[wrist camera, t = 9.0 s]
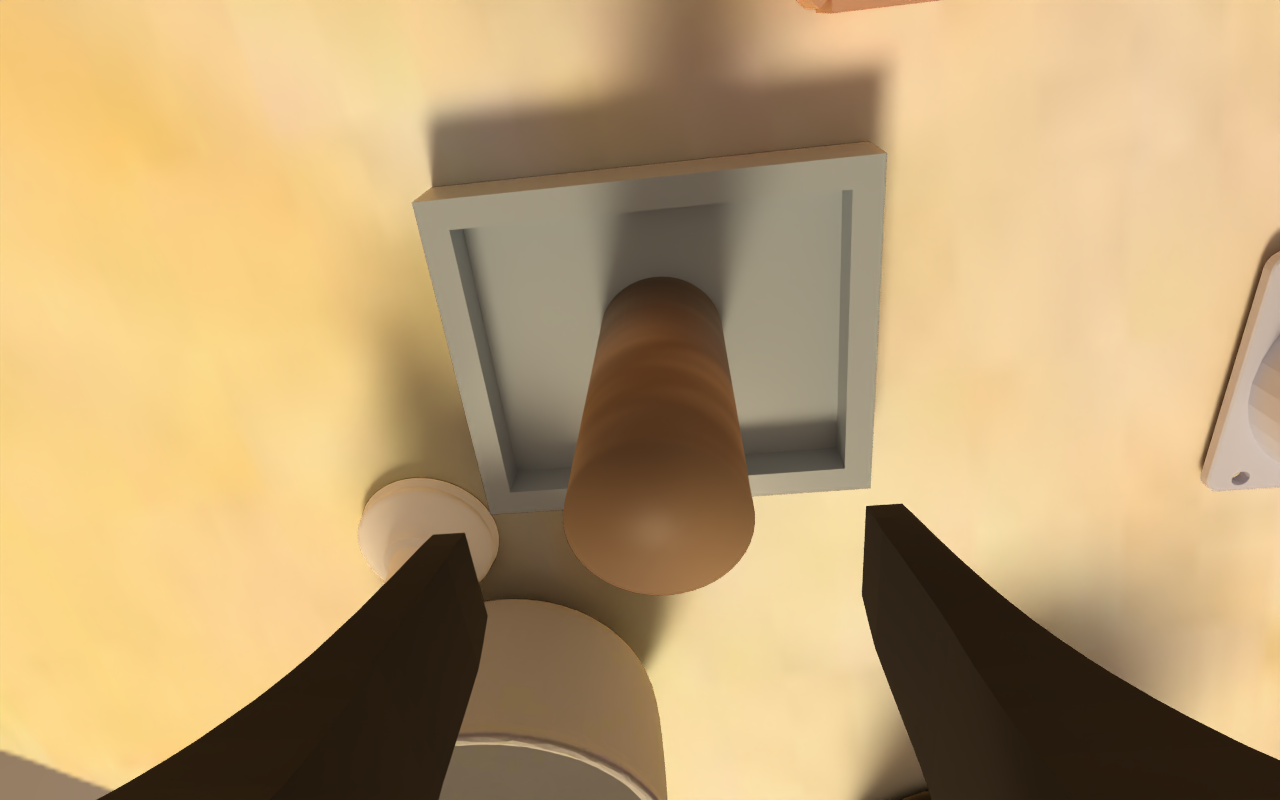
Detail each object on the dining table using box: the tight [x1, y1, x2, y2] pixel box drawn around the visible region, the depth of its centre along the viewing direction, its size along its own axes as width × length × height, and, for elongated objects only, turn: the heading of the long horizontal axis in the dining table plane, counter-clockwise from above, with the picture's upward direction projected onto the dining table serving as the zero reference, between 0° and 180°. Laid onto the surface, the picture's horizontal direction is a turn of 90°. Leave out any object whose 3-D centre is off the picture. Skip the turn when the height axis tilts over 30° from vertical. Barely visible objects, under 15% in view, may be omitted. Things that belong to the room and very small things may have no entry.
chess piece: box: [358, 478, 499, 583], centre depth 22 cm, size 5×5×10 cm
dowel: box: [563, 277, 755, 595], centre depth 18 cm, size 4×4×9 cm
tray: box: [412, 141, 887, 515], centre depth 21 cm, size 12×10×2 cm
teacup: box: [439, 599, 667, 800], centre depth 26 cm, size 14×11×8 cm
